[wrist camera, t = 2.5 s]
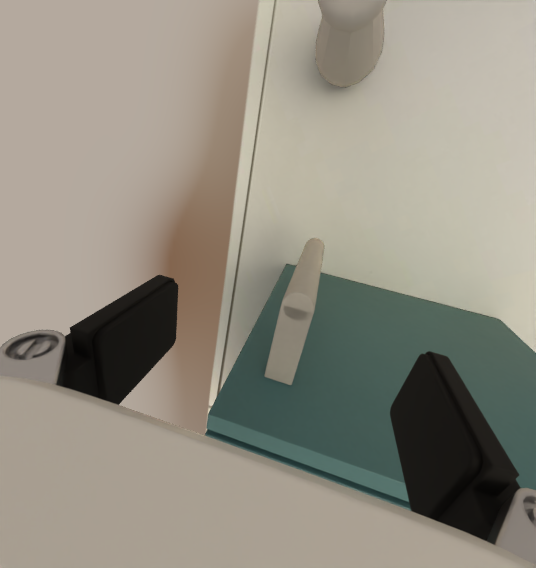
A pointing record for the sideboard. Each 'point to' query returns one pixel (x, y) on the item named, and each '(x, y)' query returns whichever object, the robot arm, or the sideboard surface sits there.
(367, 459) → the fridge door
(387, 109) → the sideboard surface
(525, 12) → the sideboard surface
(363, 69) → the salt shaker
